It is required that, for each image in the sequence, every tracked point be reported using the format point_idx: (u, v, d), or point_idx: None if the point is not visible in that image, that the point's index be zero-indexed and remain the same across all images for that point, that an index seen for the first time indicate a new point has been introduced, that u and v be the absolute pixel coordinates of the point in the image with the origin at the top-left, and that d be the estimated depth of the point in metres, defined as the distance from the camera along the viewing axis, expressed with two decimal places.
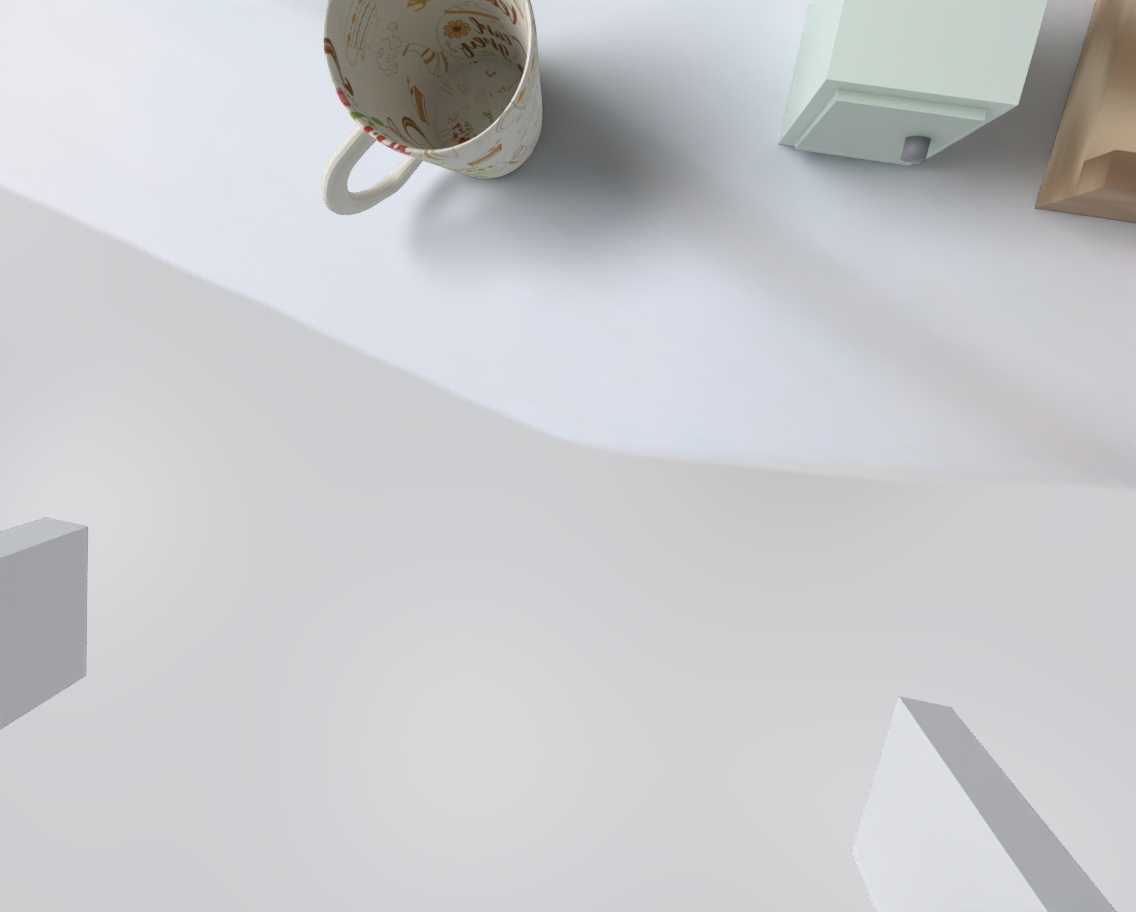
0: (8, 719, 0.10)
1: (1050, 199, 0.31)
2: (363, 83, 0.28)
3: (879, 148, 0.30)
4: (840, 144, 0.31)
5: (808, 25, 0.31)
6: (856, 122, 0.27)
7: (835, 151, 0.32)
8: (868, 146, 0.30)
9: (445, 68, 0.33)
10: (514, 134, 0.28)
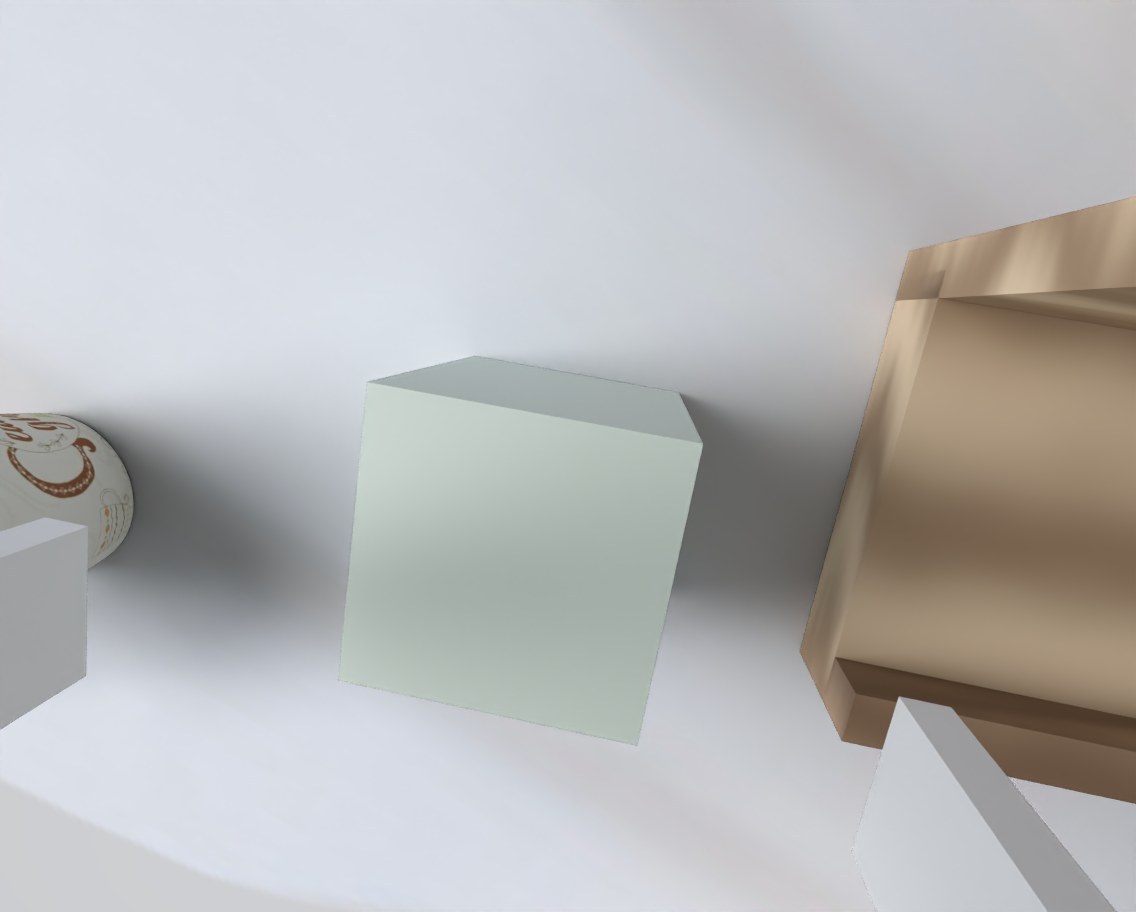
0: (7, 719, 0.10)
1: (809, 663, 0.22)
2: None
3: None
4: None
5: None
6: None
7: None
8: None
9: None
10: None
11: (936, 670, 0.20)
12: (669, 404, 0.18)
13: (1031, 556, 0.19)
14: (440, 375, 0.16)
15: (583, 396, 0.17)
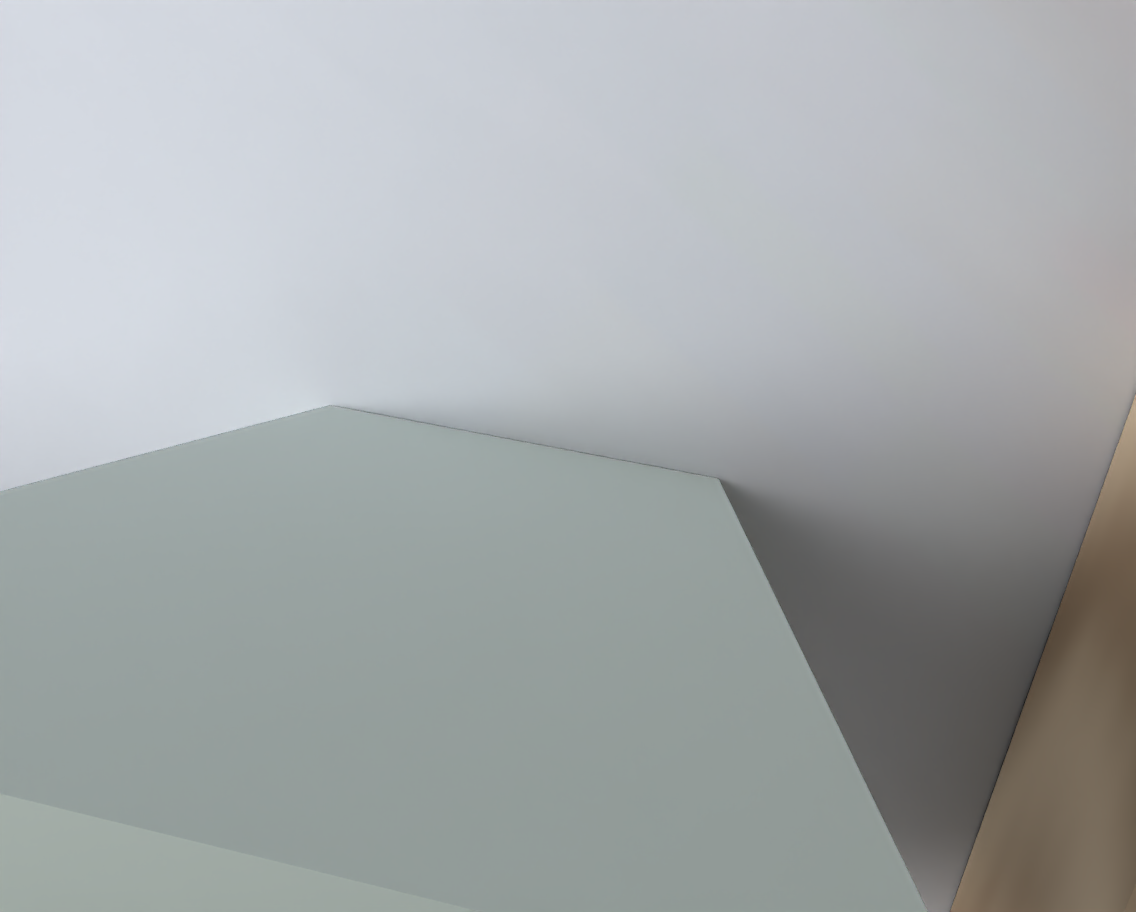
0: None
1: None
2: None
3: None
4: None
5: None
6: None
7: None
8: None
9: None
10: None
11: None
12: (714, 544, 0.08)
13: None
14: (79, 504, 0.06)
15: (494, 549, 0.06)
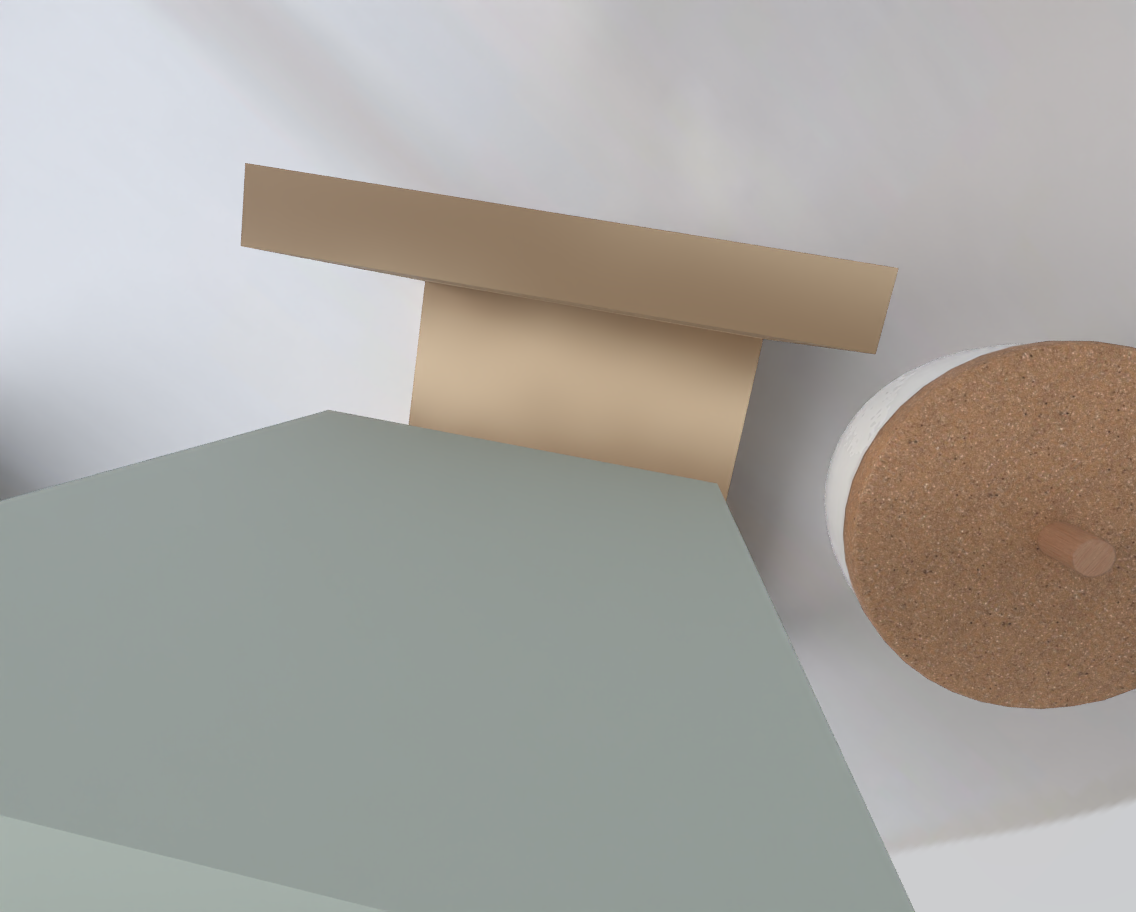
0: None
1: None
2: None
3: None
4: None
5: None
6: None
7: None
8: None
9: None
10: None
11: None
12: (713, 551, 0.08)
13: None
14: (77, 514, 0.06)
15: (492, 558, 0.06)
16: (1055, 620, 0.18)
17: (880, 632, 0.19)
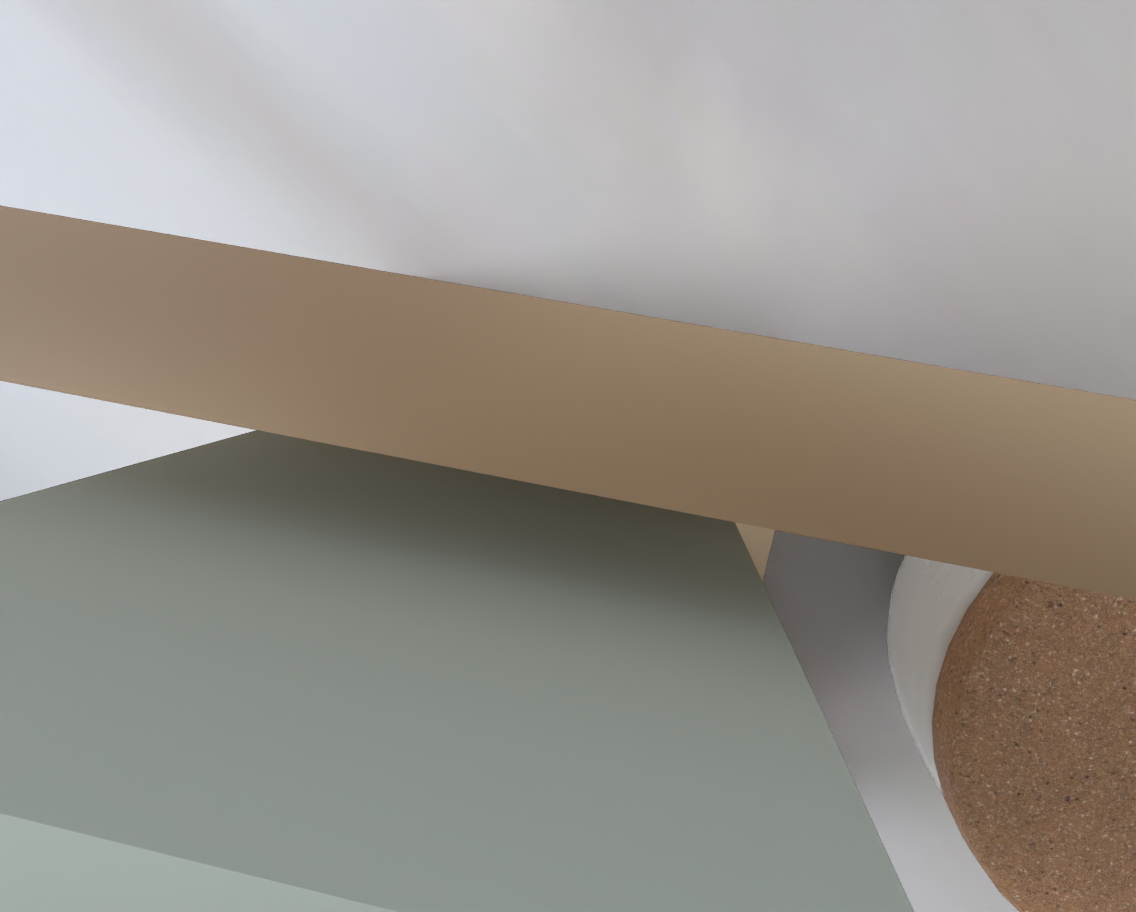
0: None
1: None
2: None
3: None
4: None
5: None
6: None
7: None
8: None
9: None
10: None
11: None
12: (712, 551, 0.08)
13: None
14: (78, 514, 0.06)
15: (492, 558, 0.06)
16: None
17: (991, 877, 0.13)
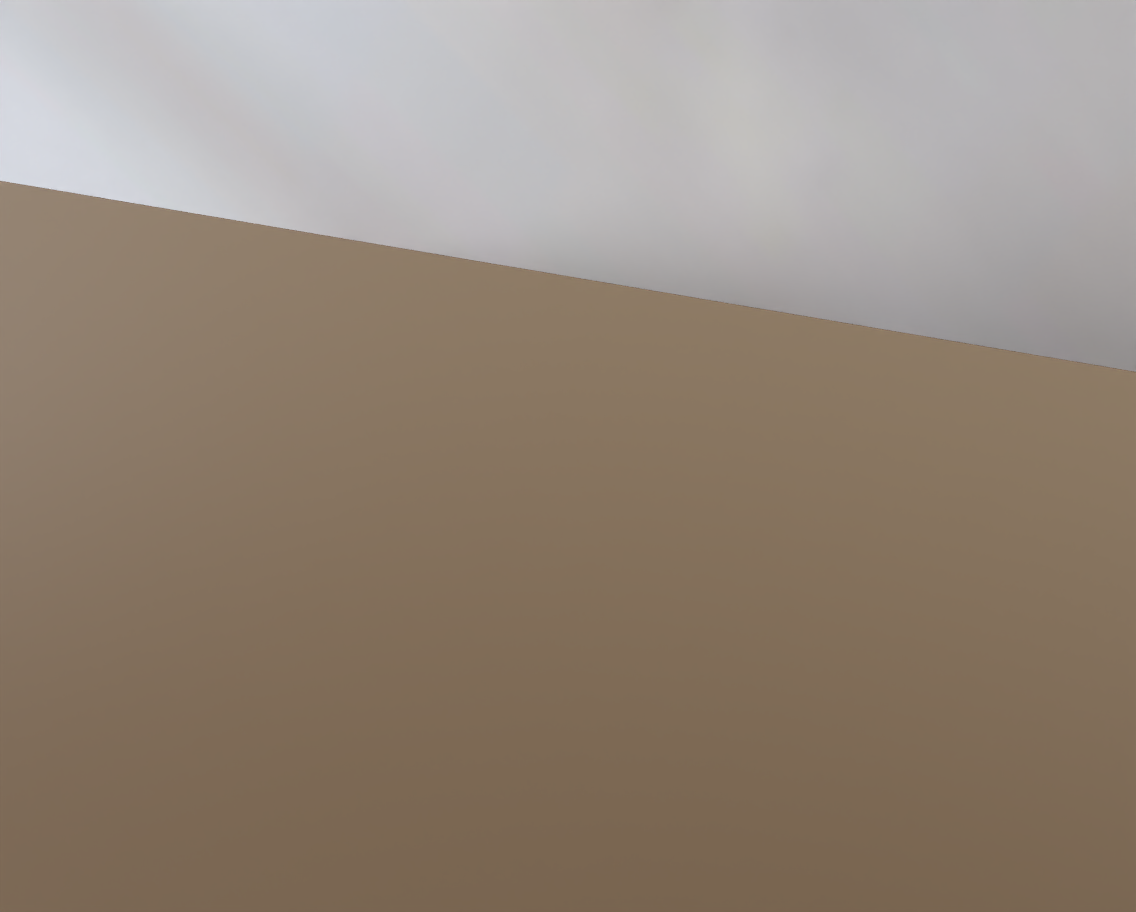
0: None
1: None
2: None
3: None
4: None
5: None
6: None
7: None
8: None
9: None
10: None
11: None
12: None
13: None
14: None
15: None
16: None
17: None
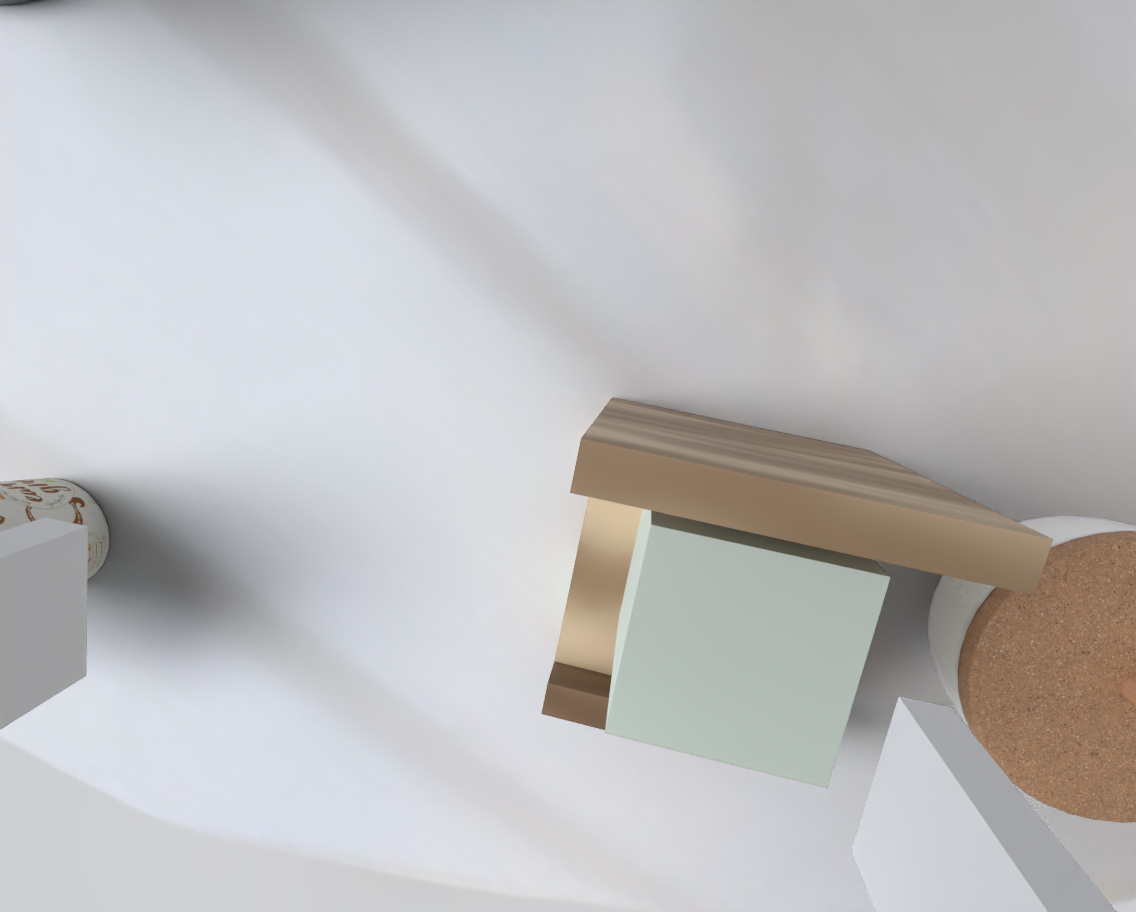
0: (8, 719, 0.10)
1: None
2: None
3: None
4: None
5: (640, 526, 0.27)
6: None
7: None
8: None
9: None
10: None
11: None
12: None
13: None
14: None
15: None
16: (1134, 752, 0.23)
17: None
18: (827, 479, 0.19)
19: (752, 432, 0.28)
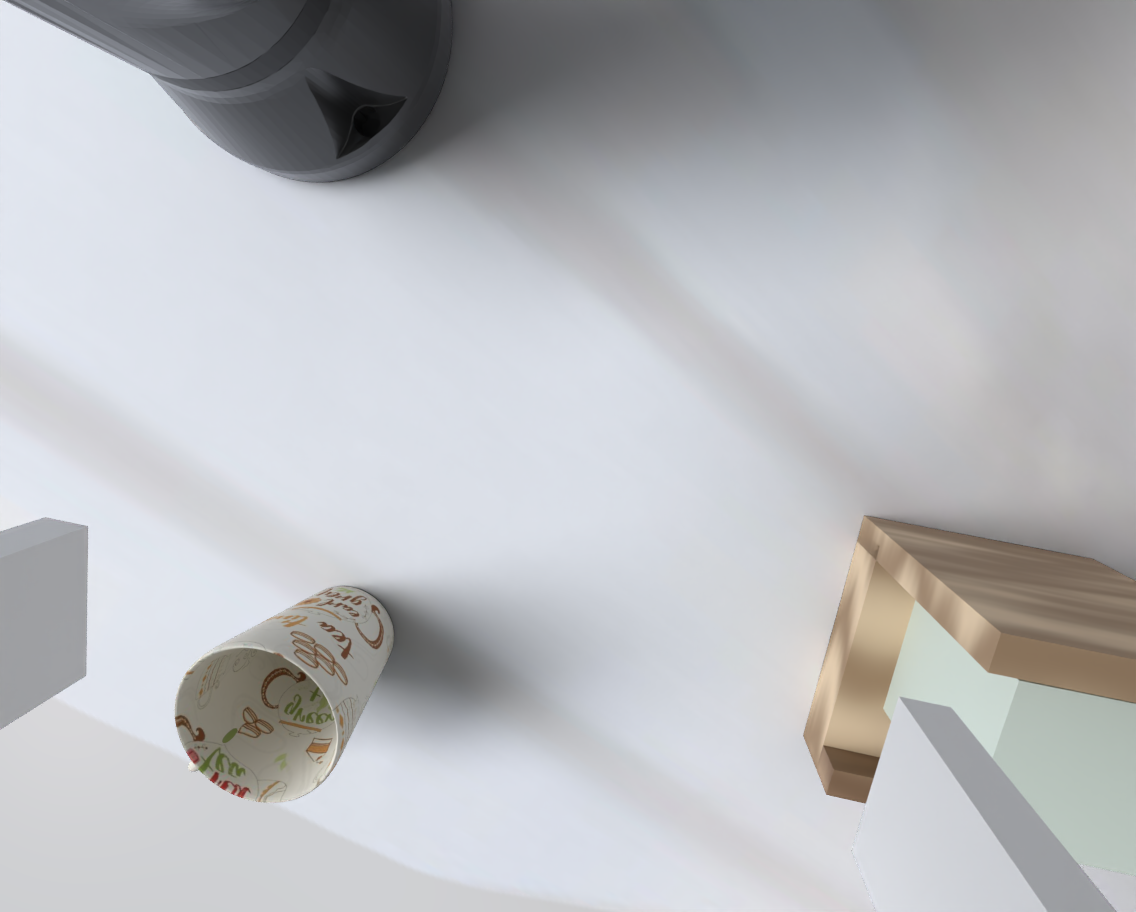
0: (7, 719, 0.10)
1: (809, 744, 0.37)
2: (217, 706, 0.34)
3: None
4: None
5: (920, 640, 0.32)
6: None
7: None
8: None
9: None
10: None
11: (879, 753, 0.35)
12: None
13: None
14: None
15: None
16: None
17: None
18: None
19: (1010, 555, 0.32)
